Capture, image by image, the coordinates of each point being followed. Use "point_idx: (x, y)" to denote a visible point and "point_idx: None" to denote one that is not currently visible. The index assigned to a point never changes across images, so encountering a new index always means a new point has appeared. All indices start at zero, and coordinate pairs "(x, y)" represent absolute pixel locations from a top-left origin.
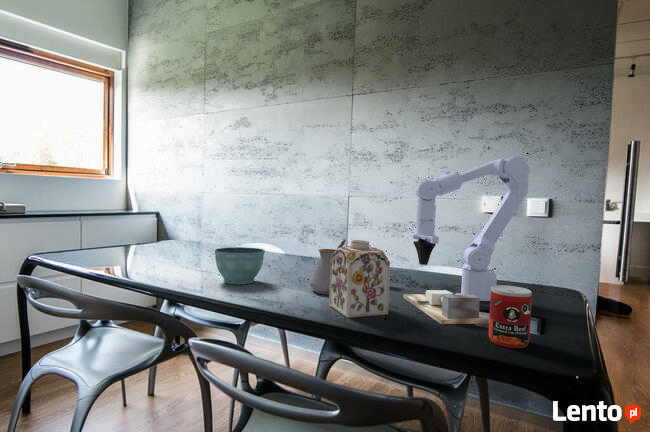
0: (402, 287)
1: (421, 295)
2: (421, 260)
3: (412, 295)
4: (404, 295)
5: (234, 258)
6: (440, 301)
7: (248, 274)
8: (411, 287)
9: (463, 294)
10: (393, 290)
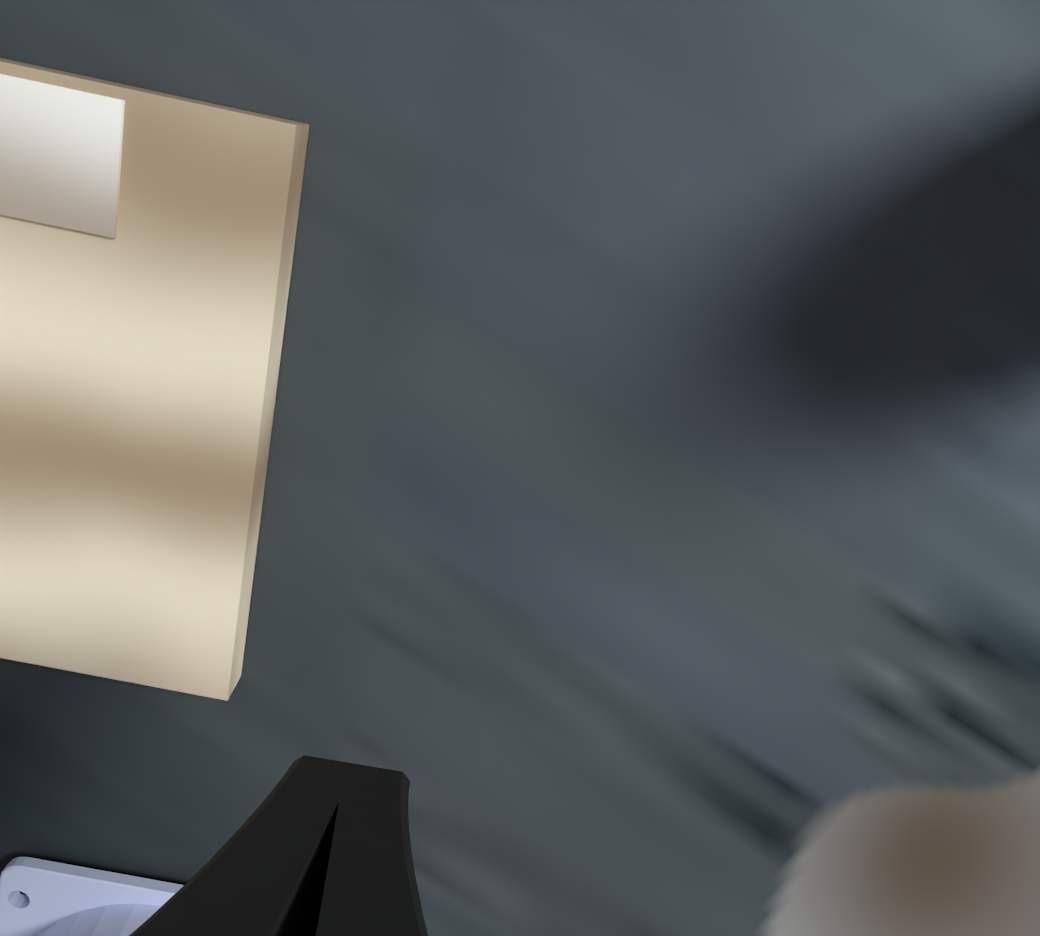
0: (941, 515)
1: (190, 386)
2: (249, 822)
3: (200, 239)
4: (235, 111)
5: None
6: None
7: None
8: (893, 646)
9: (137, 927)
10: (803, 249)
